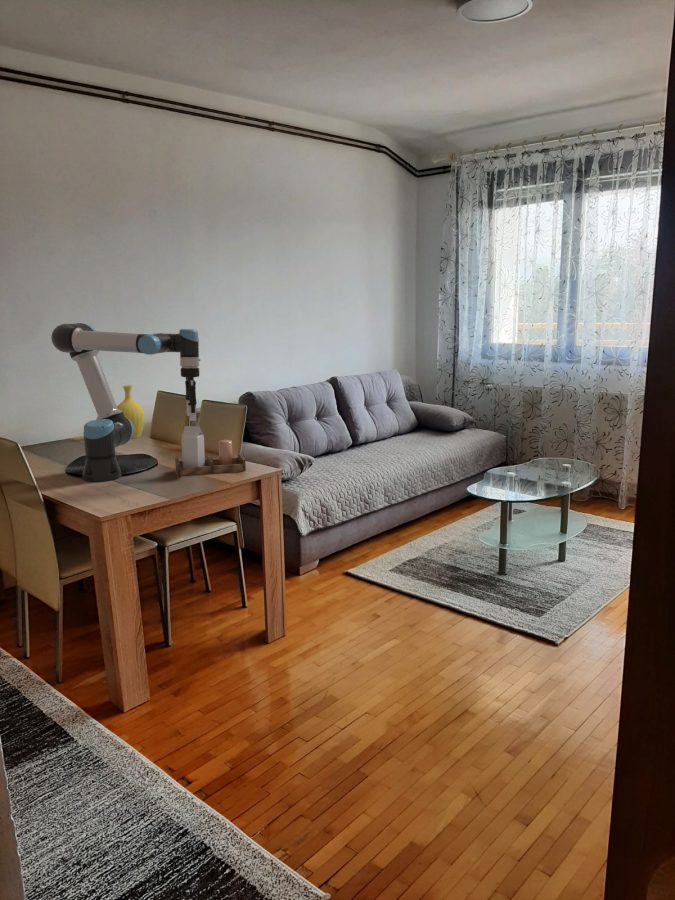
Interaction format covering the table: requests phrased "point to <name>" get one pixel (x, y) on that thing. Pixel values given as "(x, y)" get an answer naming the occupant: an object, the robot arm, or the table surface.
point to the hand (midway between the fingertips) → (191, 418)
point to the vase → (132, 412)
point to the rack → (211, 466)
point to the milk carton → (193, 447)
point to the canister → (225, 452)
